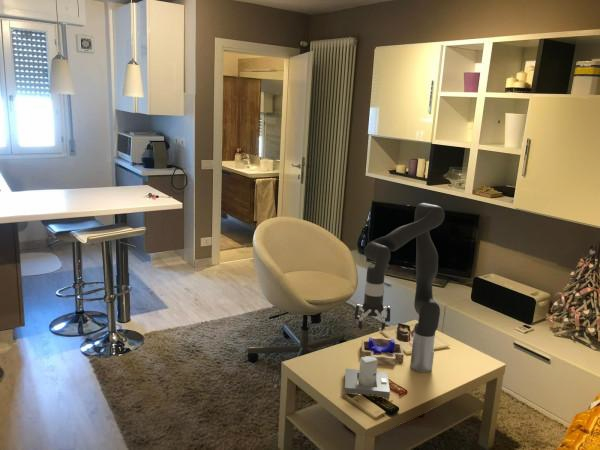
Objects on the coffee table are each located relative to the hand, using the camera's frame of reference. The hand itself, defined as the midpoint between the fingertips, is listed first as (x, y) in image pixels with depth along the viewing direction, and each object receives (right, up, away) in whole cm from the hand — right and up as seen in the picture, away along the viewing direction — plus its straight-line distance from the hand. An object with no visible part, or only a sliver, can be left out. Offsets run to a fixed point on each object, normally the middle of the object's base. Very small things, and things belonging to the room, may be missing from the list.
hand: (371, 329), depth 203 cm
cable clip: (+10, -19, +36) cm, 42 cm away
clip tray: (+10, -19, +34) cm, 40 cm away
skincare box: (-1, -25, +6) cm, 26 cm away
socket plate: (-1, -25, +6) cm, 26 cm away
